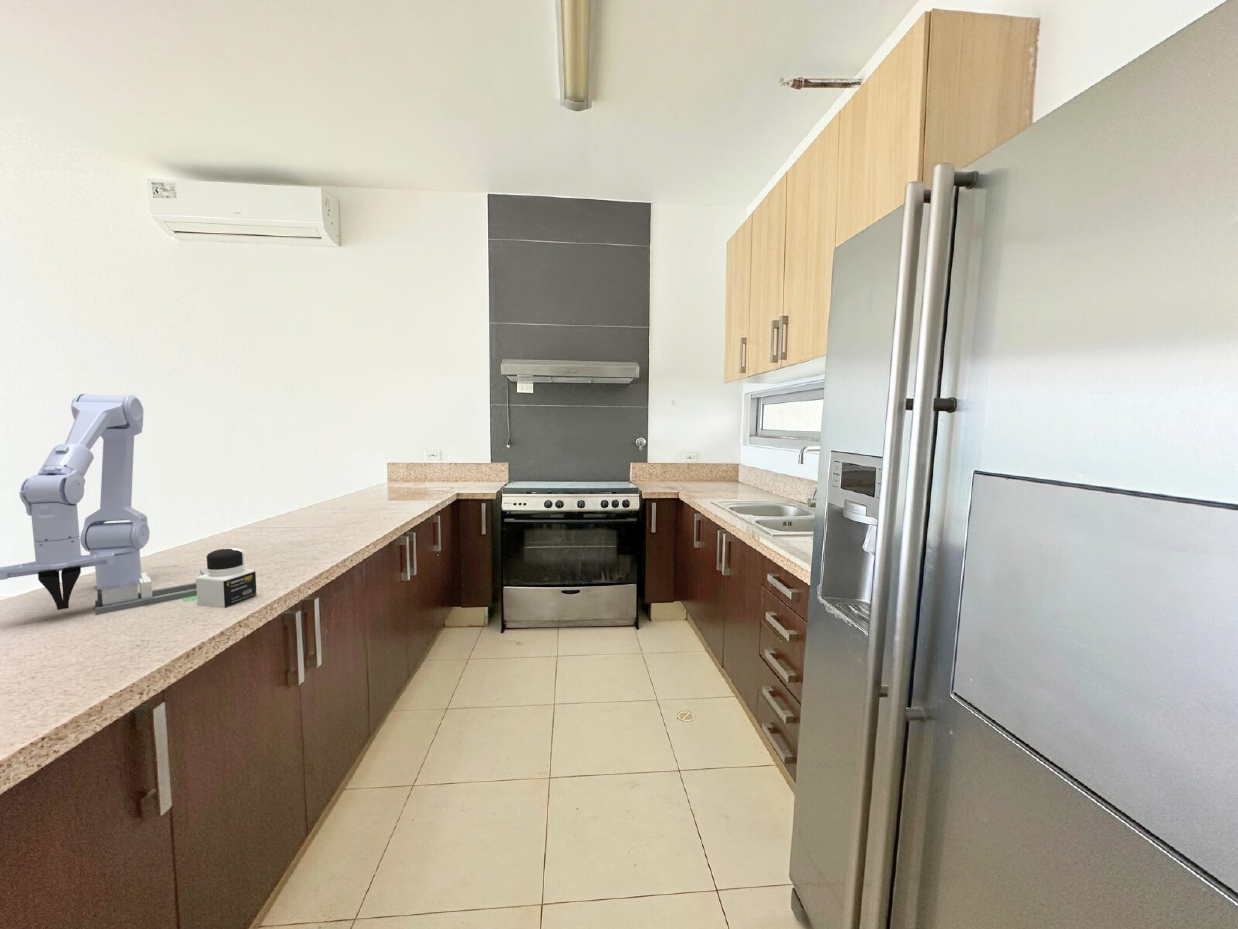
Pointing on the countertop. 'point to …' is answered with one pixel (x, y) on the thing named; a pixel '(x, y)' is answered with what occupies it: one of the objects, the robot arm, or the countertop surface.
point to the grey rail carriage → (117, 594)
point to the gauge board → (148, 601)
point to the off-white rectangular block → (145, 586)
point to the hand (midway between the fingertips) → (63, 607)
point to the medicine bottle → (225, 579)
